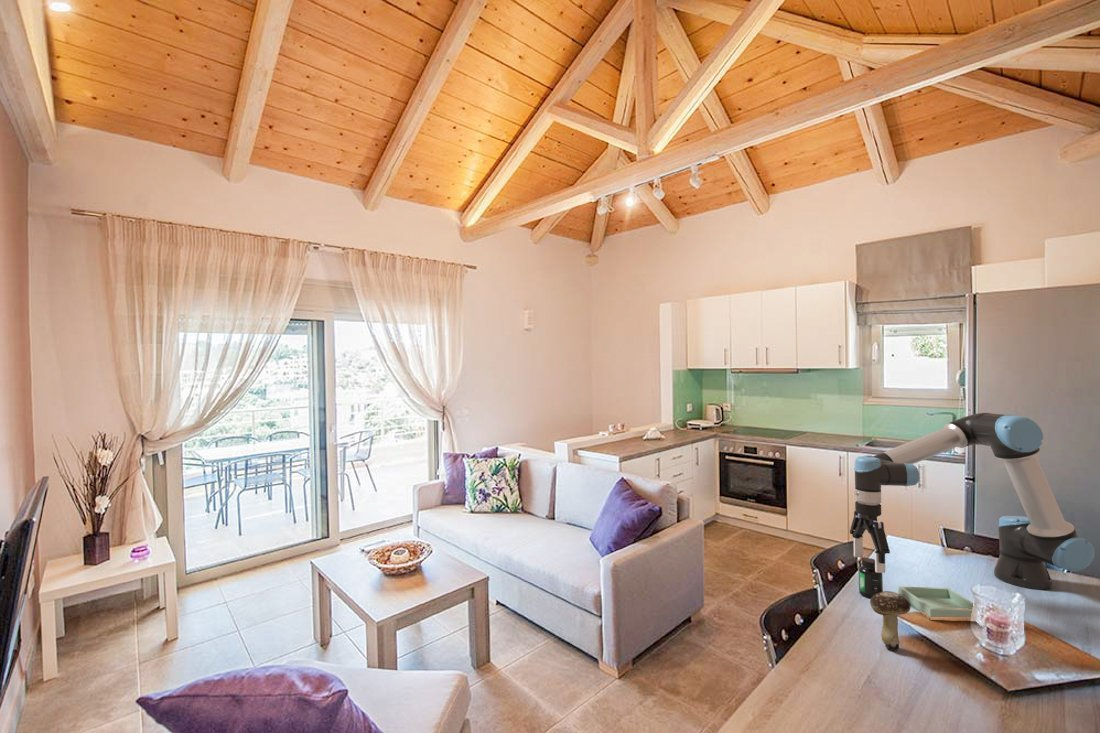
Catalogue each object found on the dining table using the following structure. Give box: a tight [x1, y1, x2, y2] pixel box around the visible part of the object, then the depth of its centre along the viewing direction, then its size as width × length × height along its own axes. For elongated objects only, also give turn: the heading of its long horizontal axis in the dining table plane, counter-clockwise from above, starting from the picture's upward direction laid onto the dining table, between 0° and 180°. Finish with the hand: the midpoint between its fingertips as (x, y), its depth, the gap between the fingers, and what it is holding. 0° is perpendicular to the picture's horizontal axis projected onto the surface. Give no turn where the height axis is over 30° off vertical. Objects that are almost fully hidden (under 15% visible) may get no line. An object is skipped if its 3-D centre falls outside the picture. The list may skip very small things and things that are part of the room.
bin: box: [897, 585, 974, 617], centre depth 155 cm, size 16×16×4 cm
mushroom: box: [869, 590, 911, 652], centre depth 133 cm, size 9×9×15 cm
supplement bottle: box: [858, 557, 884, 599], centre depth 165 cm, size 7×7×12 cm
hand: (868, 564), depth 165 cm, fingers open, 13 cm apart
